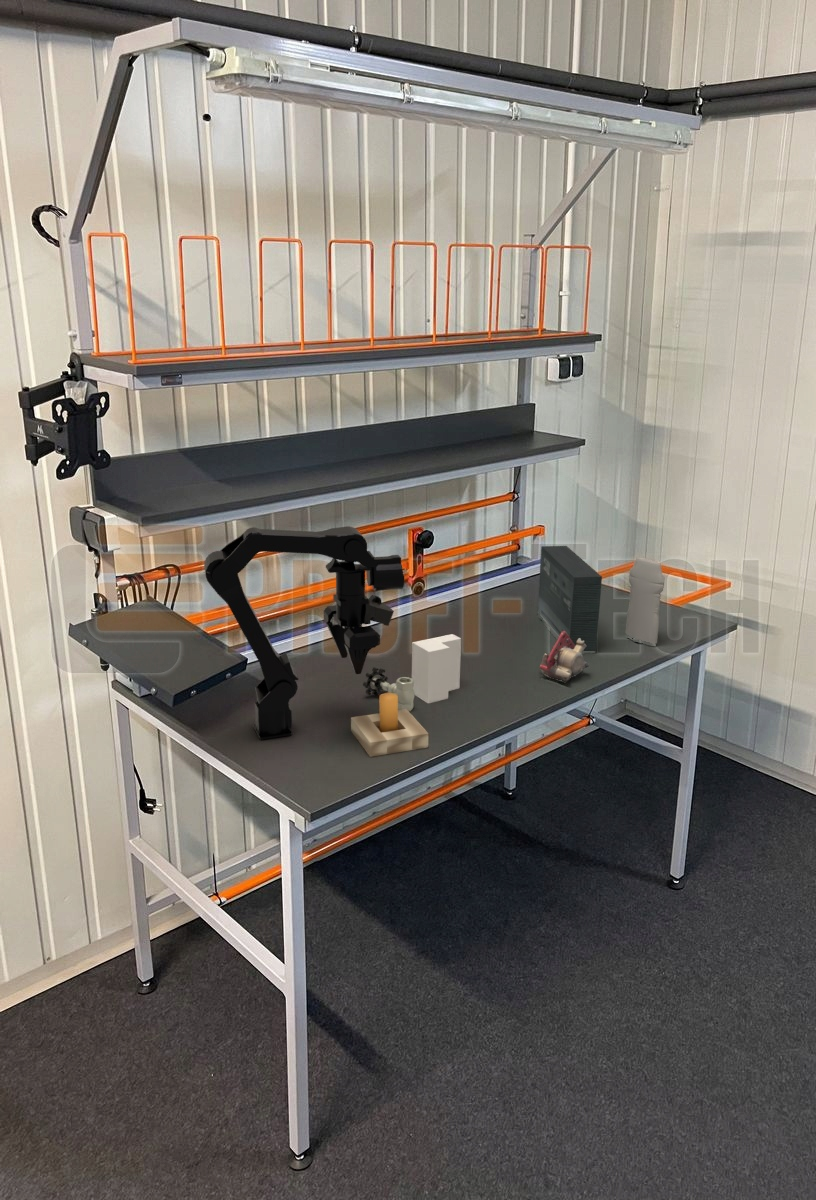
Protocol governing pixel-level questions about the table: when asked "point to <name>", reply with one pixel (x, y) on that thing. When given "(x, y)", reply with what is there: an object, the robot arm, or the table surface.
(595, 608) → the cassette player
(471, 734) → the table surface
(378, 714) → the socket block
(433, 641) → the corner bracket
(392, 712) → the peg
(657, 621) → the tall pale column
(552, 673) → the brake caliper
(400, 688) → the valve
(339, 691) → the table surface
